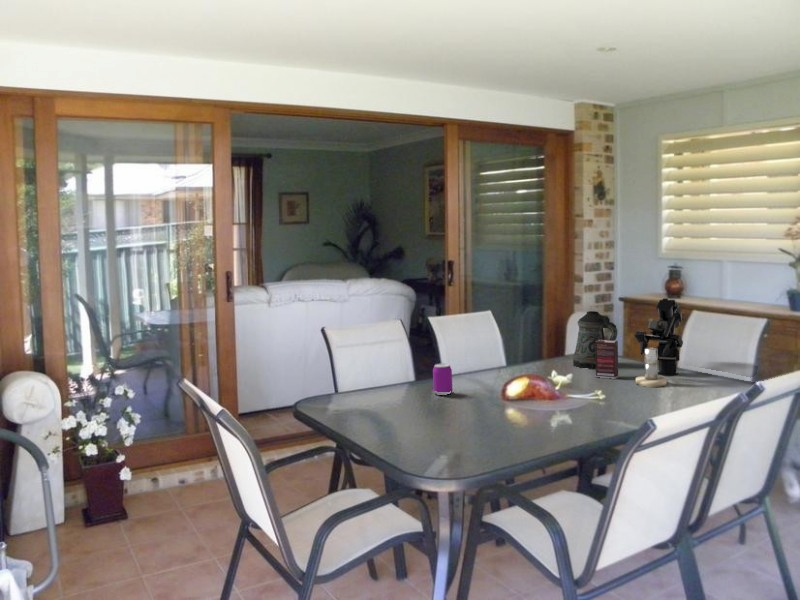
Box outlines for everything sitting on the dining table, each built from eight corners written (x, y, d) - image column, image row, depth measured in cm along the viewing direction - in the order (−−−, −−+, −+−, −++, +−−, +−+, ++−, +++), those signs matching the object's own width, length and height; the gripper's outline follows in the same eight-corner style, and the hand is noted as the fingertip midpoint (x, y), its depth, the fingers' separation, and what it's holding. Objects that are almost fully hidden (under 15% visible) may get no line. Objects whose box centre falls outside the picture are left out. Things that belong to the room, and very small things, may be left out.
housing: (642, 378, 300) (641, 348, 298) (650, 376, 302) (650, 347, 301) (651, 380, 296) (651, 350, 294) (660, 379, 298) (660, 348, 296)
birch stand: (629, 383, 302) (629, 378, 301) (650, 378, 307) (650, 374, 307) (651, 388, 291) (651, 383, 291) (673, 384, 296) (673, 379, 296)
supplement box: (618, 377, 313) (618, 340, 311) (615, 379, 309) (615, 342, 307) (598, 375, 317) (598, 339, 315) (595, 377, 313) (594, 341, 311)
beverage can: (451, 396, 292) (450, 367, 291) (432, 396, 294) (431, 367, 292) (453, 391, 300) (452, 363, 298) (435, 391, 301) (434, 363, 300)
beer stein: (570, 362, 346) (569, 309, 343) (612, 361, 344) (612, 308, 341) (575, 369, 330) (574, 314, 327) (619, 368, 328) (619, 313, 325)
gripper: (636, 311, 307) (623, 341, 300) (680, 314, 293) (667, 346, 287) (645, 327, 313) (633, 357, 307) (688, 331, 300) (676, 362, 294)
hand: (651, 355), depth 298 cm, fingers open, 9 cm apart
